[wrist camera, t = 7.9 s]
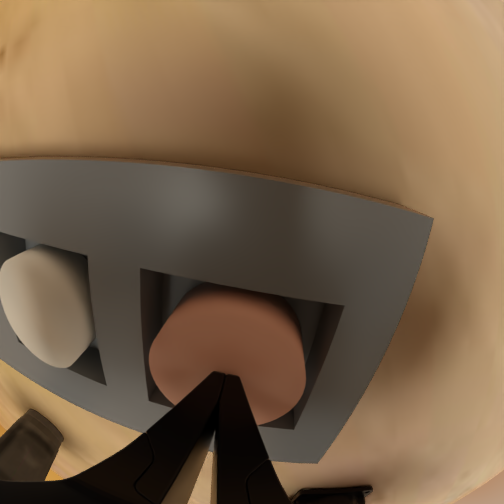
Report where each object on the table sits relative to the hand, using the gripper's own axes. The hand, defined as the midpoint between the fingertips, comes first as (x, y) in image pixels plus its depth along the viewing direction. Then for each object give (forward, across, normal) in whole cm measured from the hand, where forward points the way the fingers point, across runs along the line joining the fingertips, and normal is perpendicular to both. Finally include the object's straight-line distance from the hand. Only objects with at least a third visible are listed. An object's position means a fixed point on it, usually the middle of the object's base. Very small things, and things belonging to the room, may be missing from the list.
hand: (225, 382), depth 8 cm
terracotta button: (+2, 0, 0) cm, 2 cm away
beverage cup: (+3, +17, +18) cm, 25 cm away
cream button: (+2, +8, 0) cm, 8 cm away
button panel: (+3, +8, 0) cm, 9 cm away
